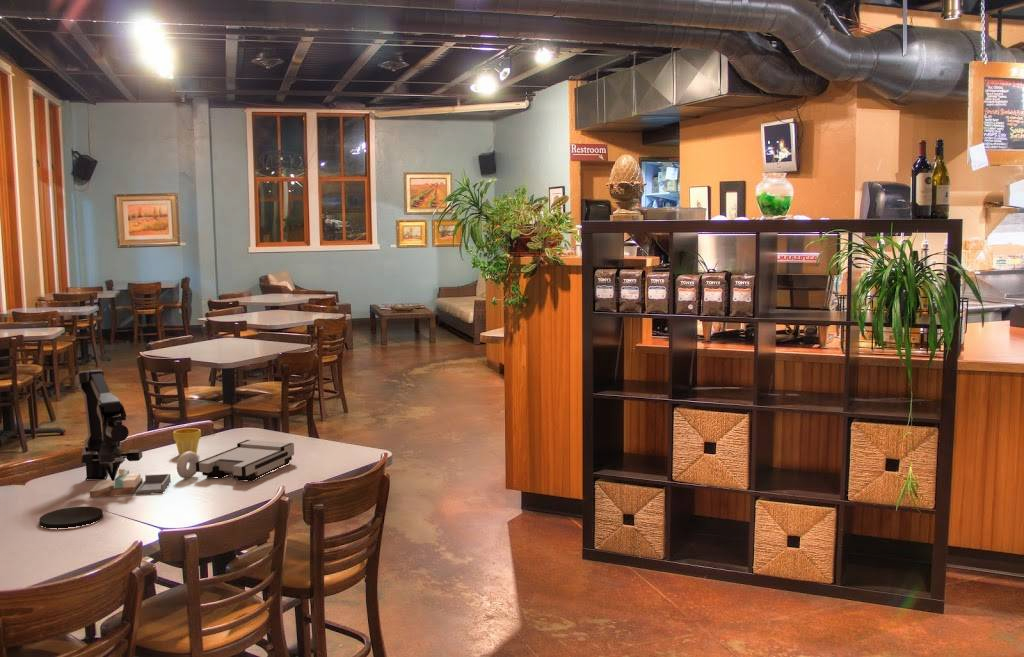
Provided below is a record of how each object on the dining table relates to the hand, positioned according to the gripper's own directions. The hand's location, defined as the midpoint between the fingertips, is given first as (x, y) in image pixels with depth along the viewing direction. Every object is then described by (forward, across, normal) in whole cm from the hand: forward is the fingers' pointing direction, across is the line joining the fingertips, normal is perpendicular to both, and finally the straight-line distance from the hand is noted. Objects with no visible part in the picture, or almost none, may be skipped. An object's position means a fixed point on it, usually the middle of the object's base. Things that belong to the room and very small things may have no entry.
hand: (113, 480), depth 312 cm
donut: (+4, +23, +11) cm, 26 cm away
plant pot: (+4, +17, +48) cm, 51 cm away
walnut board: (+4, +1, 0) cm, 4 cm away
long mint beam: (+1, +3, 0) cm, 3 cm away
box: (+4, +13, 0) cm, 14 cm away
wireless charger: (+4, -5, -32) cm, 33 cm away
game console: (+4, +43, +17) cm, 46 cm away
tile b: (+2, +6, +3) cm, 7 cm away
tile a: (+2, +6, -2) cm, 7 cm away
